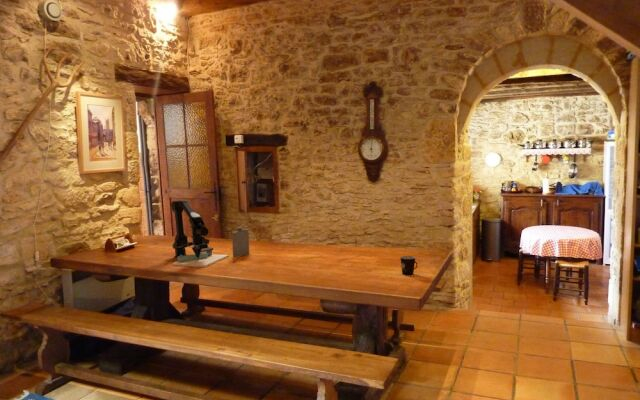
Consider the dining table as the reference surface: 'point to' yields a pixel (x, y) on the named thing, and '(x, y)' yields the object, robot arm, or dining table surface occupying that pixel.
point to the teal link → (191, 257)
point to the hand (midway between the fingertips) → (198, 257)
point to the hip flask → (240, 242)
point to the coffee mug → (408, 265)
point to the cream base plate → (202, 261)
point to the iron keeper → (207, 251)
